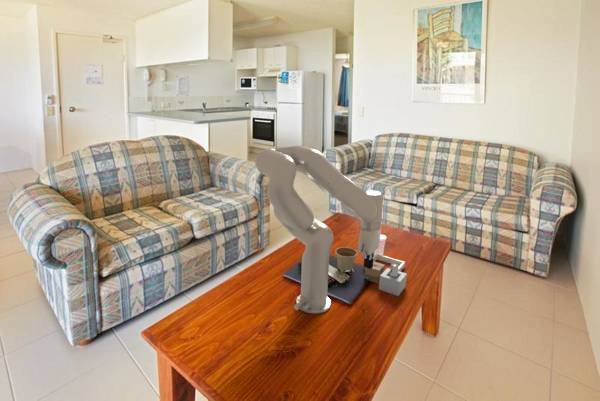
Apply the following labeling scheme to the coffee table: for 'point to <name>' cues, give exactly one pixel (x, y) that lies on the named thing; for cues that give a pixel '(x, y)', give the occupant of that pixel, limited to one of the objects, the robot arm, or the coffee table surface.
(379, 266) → the walnut block
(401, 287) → the bore block
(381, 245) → the beverage cup
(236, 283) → the coffee table surface
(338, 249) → the flower pot
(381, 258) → the u-shaped frame
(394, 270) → the pin
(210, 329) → the coffee table surface
